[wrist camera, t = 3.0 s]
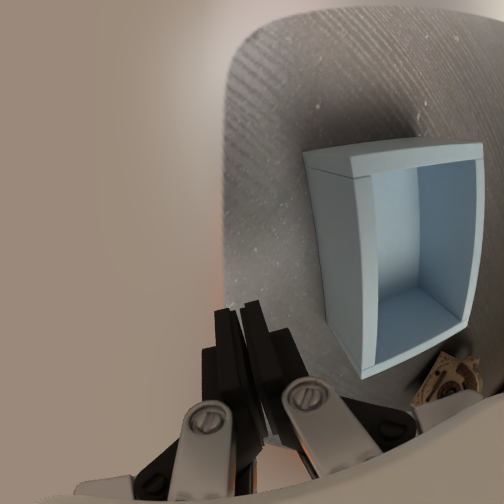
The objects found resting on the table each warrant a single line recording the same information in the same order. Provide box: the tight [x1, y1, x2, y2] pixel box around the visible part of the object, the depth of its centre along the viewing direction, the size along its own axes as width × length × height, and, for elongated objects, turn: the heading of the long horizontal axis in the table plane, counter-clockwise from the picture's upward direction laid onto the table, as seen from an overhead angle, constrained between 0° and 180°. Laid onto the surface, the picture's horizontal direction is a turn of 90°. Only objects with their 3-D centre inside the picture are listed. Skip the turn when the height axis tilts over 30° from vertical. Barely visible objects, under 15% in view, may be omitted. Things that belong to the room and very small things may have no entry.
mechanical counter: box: [410, 351, 482, 408], centre depth 21 cm, size 7×13×10 cm
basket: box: [302, 137, 485, 379], centre depth 14 cm, size 11×8×6 cm
